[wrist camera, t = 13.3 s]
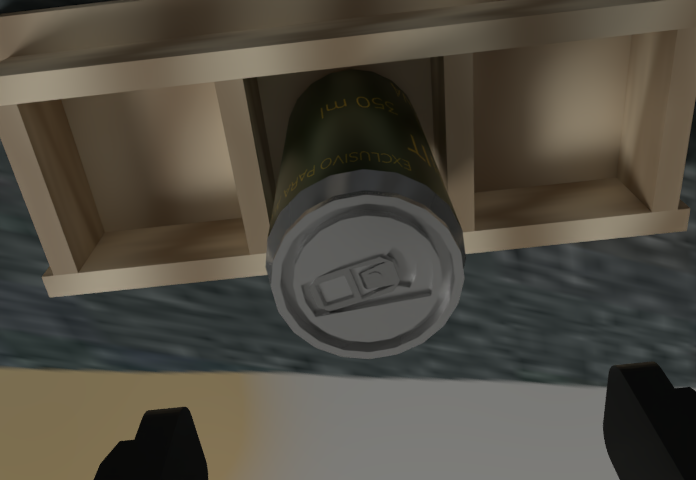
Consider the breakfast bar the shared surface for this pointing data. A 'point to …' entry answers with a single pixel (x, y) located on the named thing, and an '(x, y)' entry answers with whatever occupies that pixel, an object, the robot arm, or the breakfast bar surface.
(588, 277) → the breakfast bar surface
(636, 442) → the robot arm
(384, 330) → the beer can
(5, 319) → the breakfast bar surface
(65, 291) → the wooden compartment organizer
